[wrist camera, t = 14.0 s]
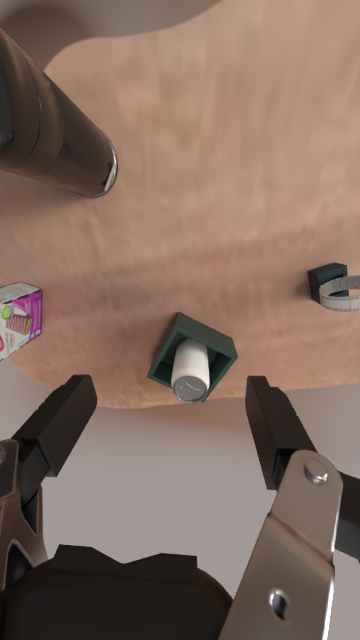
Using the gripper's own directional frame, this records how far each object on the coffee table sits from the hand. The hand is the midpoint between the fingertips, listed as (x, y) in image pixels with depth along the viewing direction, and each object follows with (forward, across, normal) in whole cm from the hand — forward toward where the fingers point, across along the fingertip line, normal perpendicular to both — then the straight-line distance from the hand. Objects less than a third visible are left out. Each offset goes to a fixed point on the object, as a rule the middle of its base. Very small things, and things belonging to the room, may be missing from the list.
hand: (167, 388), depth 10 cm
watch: (+30, -24, +2) cm, 39 cm away
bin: (+30, 0, +16) cm, 34 cm away
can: (+30, 0, +16) cm, 34 cm away
